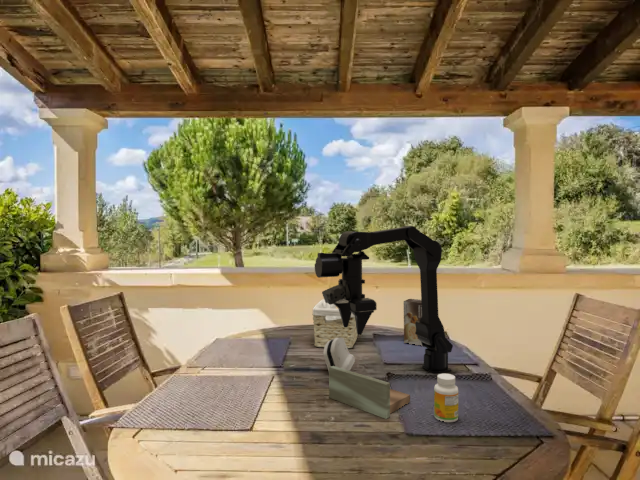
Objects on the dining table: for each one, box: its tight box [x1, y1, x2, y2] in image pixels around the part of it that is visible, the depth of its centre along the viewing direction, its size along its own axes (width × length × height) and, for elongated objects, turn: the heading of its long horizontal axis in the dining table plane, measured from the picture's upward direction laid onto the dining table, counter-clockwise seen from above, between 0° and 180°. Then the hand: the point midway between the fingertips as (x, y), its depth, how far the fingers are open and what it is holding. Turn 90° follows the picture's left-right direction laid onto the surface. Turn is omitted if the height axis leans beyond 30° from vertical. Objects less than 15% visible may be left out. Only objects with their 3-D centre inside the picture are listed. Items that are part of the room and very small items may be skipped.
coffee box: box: [403, 298, 423, 347], centre depth 164 cm, size 9×6×16 cm
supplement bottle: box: [433, 373, 459, 423], centre depth 102 cm, size 5×5×10 cm
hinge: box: [322, 337, 356, 372], centre depth 138 cm, size 17×5×10 cm, turn 166°
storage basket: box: [312, 298, 358, 349], centre depth 169 cm, size 24×16×15 cm
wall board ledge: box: [328, 366, 411, 420], centre depth 112 cm, size 12×18×8 cm, turn 46°
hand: (352, 330), depth 125 cm, fingers open, 9 cm apart
